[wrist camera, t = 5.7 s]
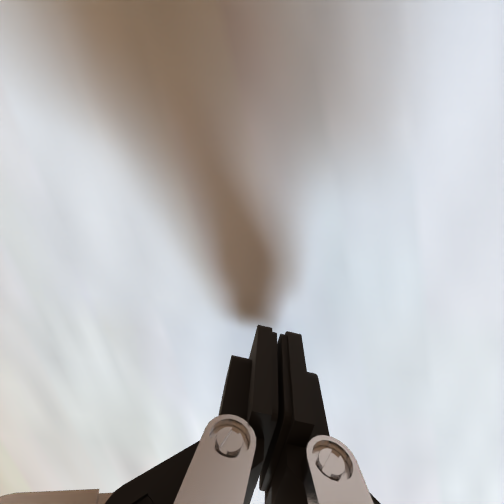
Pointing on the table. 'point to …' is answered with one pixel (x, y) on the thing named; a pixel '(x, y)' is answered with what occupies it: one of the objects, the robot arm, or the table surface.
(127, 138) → the table surface
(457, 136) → the table surface
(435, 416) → the table surface
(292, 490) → the robot arm
